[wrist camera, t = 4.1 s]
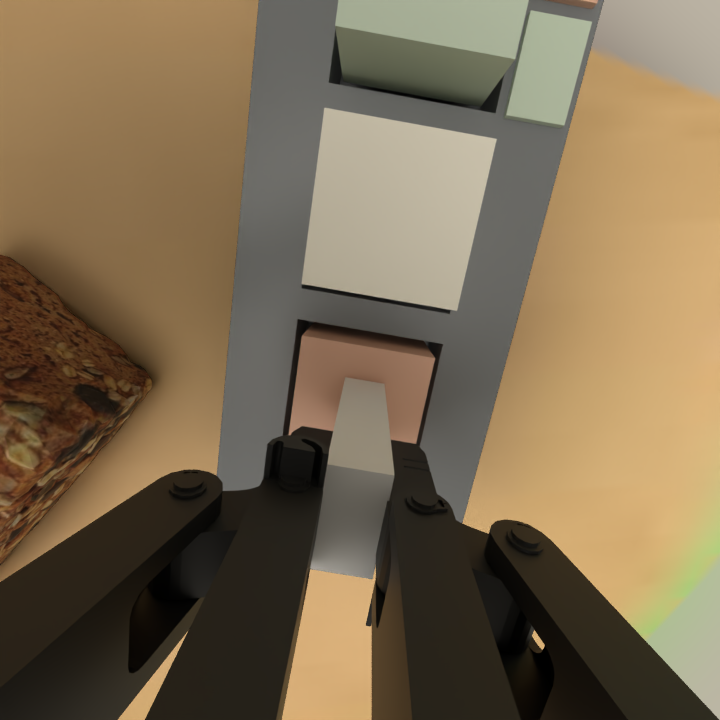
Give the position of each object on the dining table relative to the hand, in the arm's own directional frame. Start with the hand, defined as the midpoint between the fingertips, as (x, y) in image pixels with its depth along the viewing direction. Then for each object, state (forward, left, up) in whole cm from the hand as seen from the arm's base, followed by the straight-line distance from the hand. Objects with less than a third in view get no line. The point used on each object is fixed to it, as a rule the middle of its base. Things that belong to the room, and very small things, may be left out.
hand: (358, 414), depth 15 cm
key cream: (-7, 0, -2) cm, 7 cm away
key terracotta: (0, 0, -4) cm, 4 cm away
